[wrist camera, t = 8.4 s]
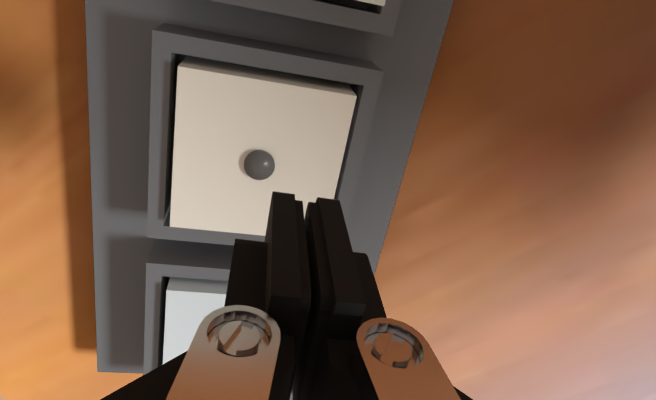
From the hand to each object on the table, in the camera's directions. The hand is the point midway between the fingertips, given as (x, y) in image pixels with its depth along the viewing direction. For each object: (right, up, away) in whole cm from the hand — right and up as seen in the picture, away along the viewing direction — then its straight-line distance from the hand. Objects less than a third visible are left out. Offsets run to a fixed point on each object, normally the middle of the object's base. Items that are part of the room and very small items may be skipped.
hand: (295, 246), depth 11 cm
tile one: (-2, +3, +7) cm, 8 cm away
